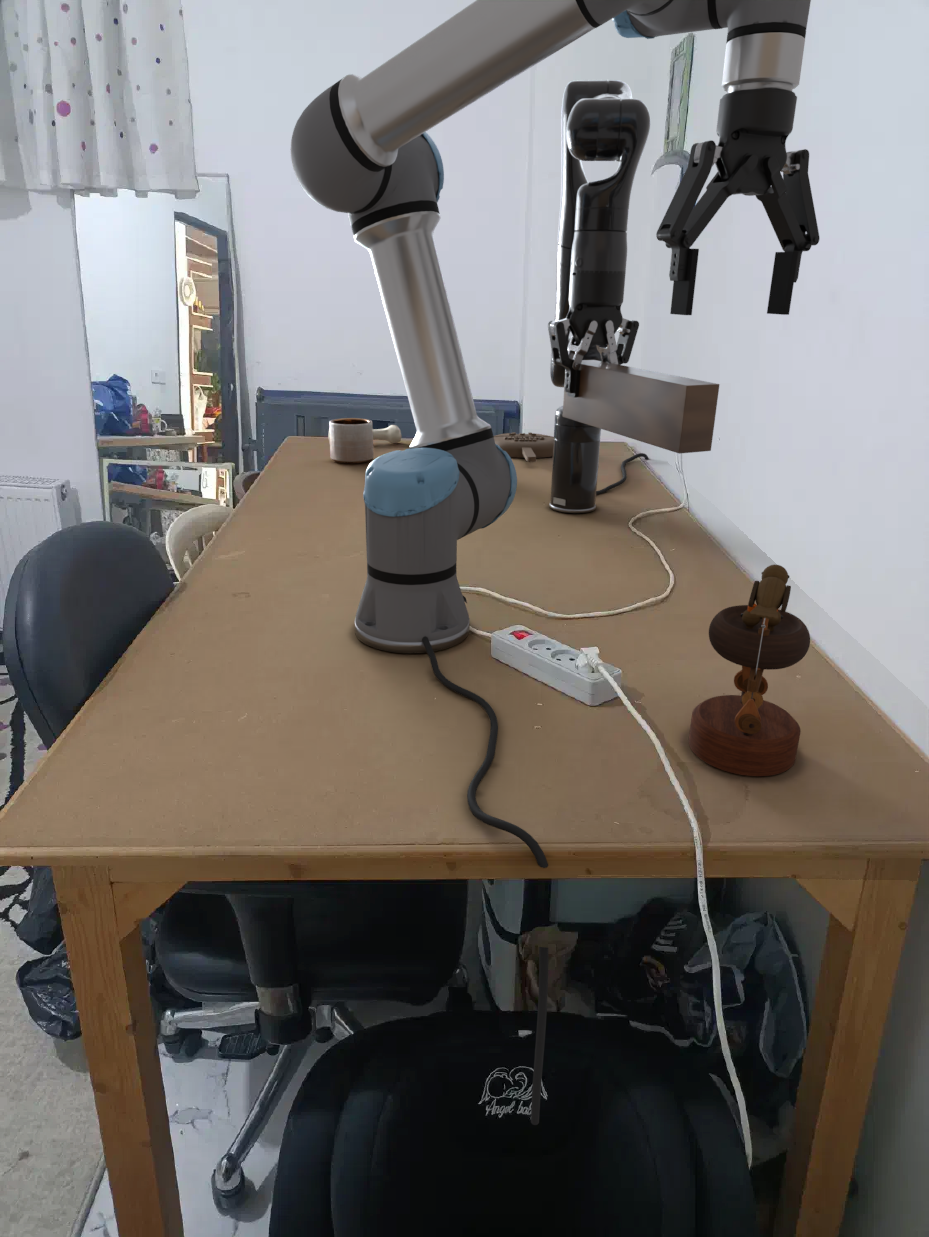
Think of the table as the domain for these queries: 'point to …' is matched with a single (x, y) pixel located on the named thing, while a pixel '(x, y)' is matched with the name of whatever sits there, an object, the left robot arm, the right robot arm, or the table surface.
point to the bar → (645, 406)
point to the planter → (351, 440)
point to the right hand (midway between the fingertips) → (589, 395)
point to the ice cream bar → (526, 445)
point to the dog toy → (385, 434)
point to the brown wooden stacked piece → (752, 684)
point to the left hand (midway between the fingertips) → (730, 314)
